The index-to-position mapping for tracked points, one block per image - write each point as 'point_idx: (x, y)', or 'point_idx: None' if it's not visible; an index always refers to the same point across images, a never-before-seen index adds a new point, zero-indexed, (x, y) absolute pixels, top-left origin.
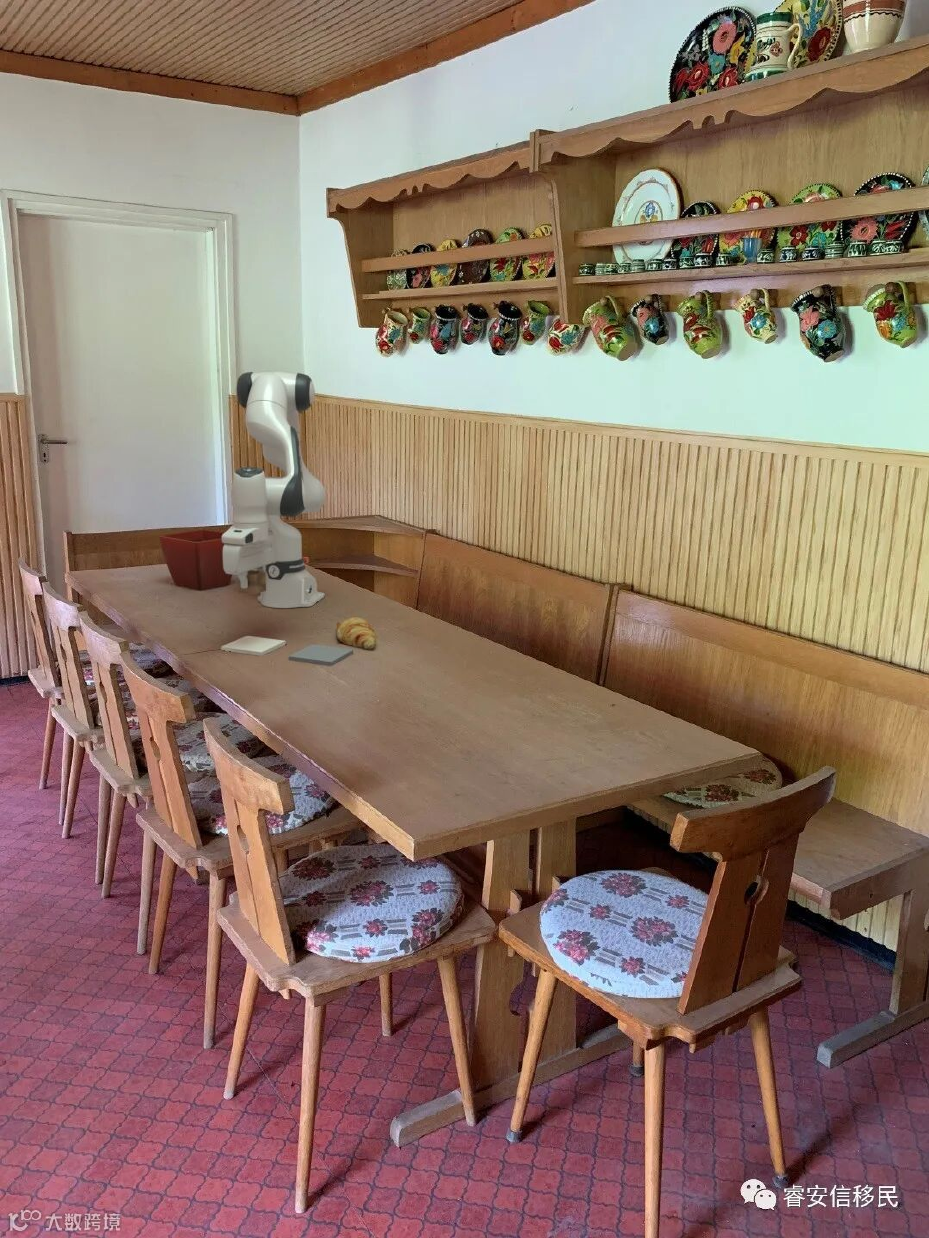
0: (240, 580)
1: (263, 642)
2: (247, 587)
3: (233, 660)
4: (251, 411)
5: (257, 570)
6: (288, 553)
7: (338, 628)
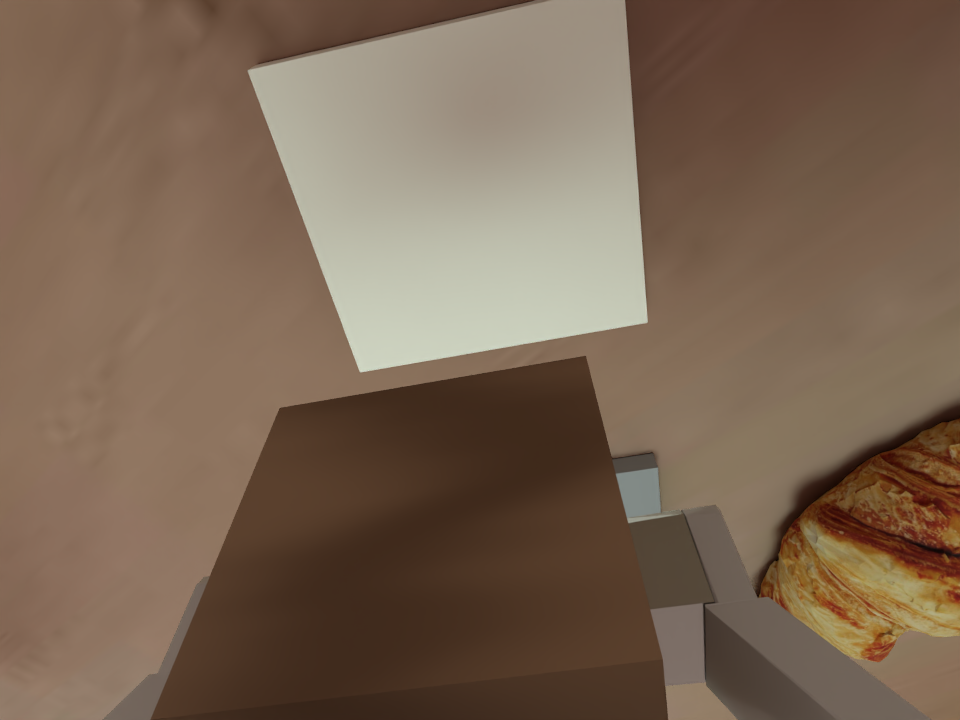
0: (137, 697)
1: (534, 240)
2: None
3: (187, 298)
4: None
5: (809, 707)
6: None
7: (852, 544)
